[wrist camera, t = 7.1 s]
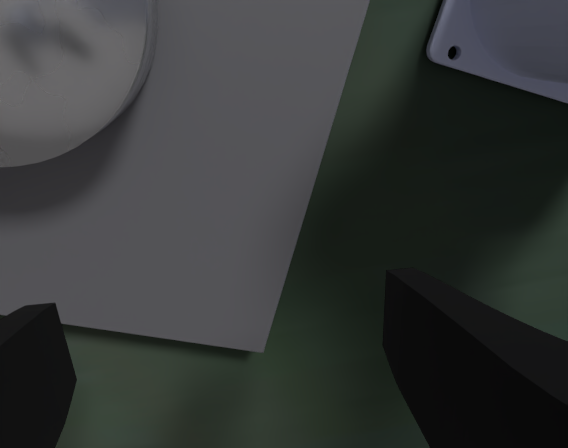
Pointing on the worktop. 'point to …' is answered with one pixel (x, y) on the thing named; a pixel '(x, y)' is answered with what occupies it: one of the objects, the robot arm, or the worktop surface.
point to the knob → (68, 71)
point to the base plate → (187, 178)
